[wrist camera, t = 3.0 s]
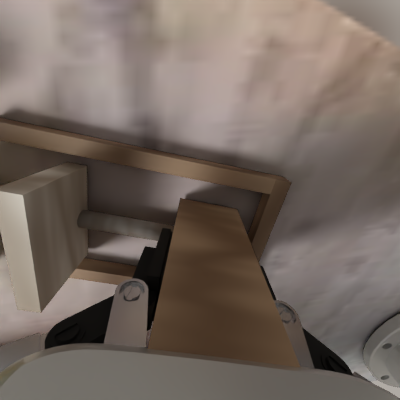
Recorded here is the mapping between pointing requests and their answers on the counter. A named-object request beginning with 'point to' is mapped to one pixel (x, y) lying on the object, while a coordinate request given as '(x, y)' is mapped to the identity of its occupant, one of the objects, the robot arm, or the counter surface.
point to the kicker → (173, 275)
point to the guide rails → (159, 162)
